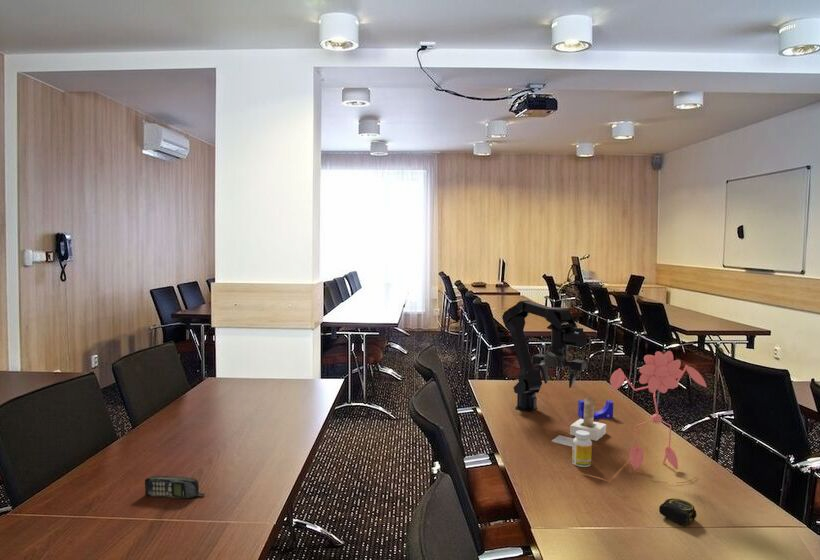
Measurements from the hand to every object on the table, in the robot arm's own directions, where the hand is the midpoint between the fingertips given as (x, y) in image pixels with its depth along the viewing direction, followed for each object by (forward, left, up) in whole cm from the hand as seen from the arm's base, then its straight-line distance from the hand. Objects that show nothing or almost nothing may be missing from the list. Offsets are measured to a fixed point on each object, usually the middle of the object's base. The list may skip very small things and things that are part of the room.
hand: (557, 385), depth 196 cm
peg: (+14, -7, -13) cm, 20 cm away
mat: (+11, -18, -13) cm, 25 cm away
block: (+14, -7, -13) cm, 20 cm away
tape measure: (+50, -49, -13) cm, 71 cm away
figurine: (+40, -24, -13) cm, 48 cm away
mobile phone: (-52, -117, -13) cm, 129 cm away
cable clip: (+10, +13, -13) cm, 21 cm away
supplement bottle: (+21, -32, -13) cm, 40 cm away
